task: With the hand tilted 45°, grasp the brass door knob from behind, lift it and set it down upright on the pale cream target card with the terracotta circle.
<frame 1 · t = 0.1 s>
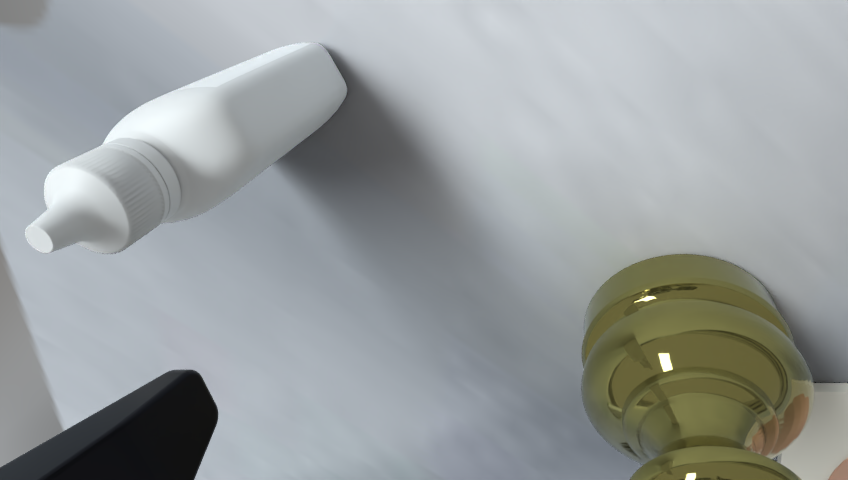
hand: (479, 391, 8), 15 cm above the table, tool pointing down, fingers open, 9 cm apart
brass door knob: (674, 323, 23), on the table
eye dropper bottle: (288, 94, 23), on the table
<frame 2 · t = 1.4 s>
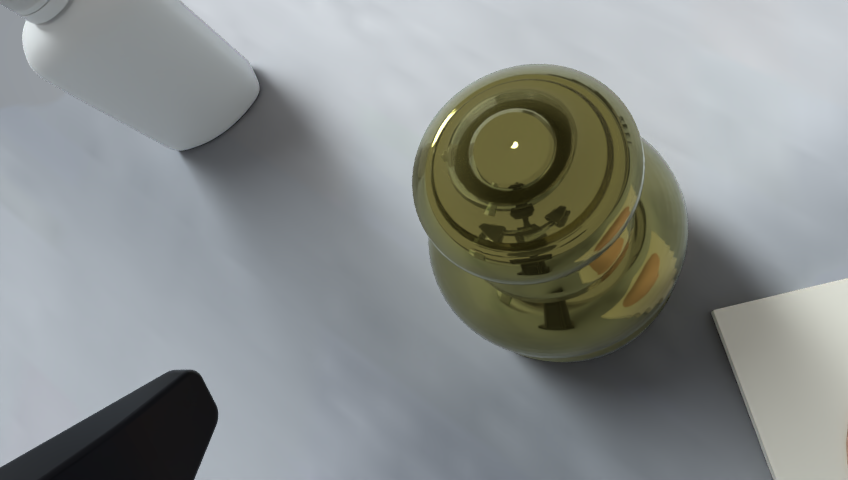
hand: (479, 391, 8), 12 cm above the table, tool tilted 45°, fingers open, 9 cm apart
brass door knob: (563, 260, 20), on the table
eye dropper bottle: (217, 110, 28), on the table
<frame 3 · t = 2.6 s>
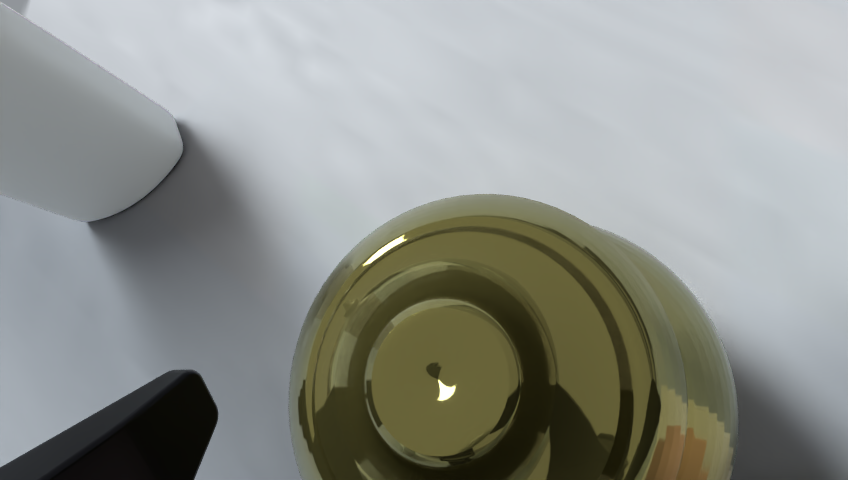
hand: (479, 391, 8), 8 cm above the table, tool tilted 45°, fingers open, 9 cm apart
brass door knob: (554, 399, 15), on the table
eye dropper bottle: (135, 172, 23), on the table
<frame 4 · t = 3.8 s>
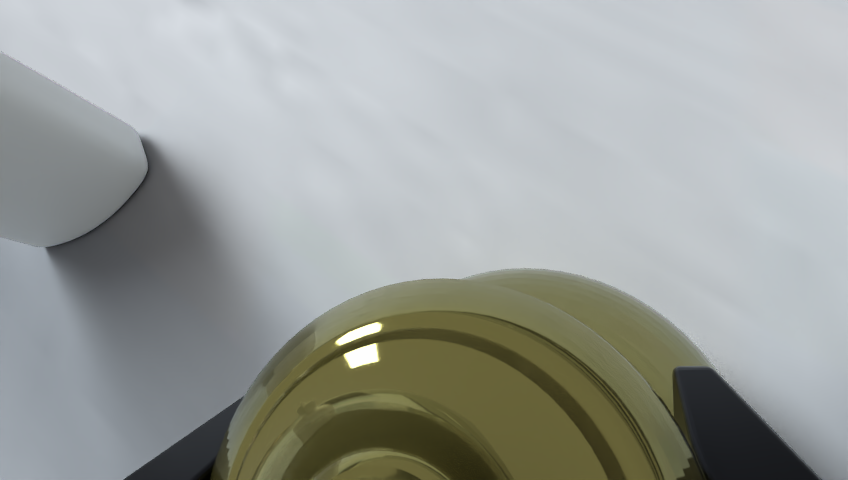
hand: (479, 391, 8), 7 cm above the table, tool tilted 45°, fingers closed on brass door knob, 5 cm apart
brass door knob: (550, 461, 13), on the table, touching gripper
eye dropper bottle: (97, 192, 21), on the table
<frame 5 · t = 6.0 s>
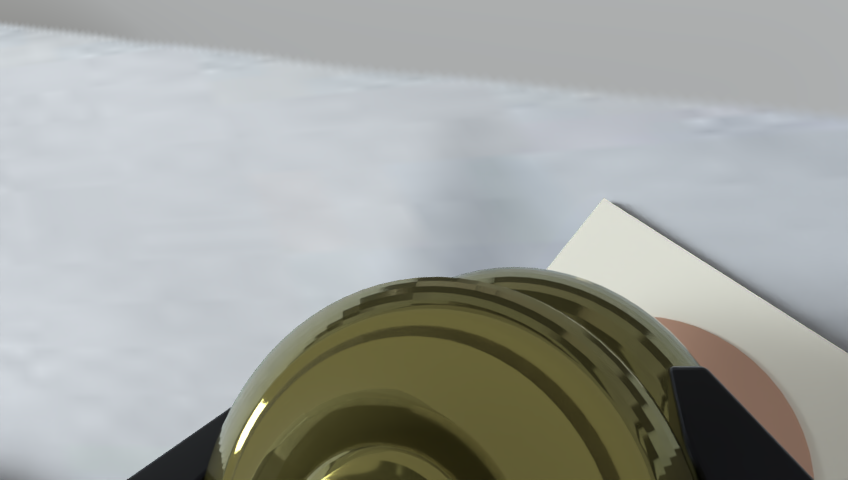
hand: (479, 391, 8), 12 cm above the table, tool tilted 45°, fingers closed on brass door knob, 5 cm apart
brass door knob: (537, 457, 13), point 5 cm above the table, touching gripper
target card: (645, 456, 17), on the table
when the fingers open (8 cm above the table, at t = 7.9 s): brass door knob stays where it is, resting on target card.
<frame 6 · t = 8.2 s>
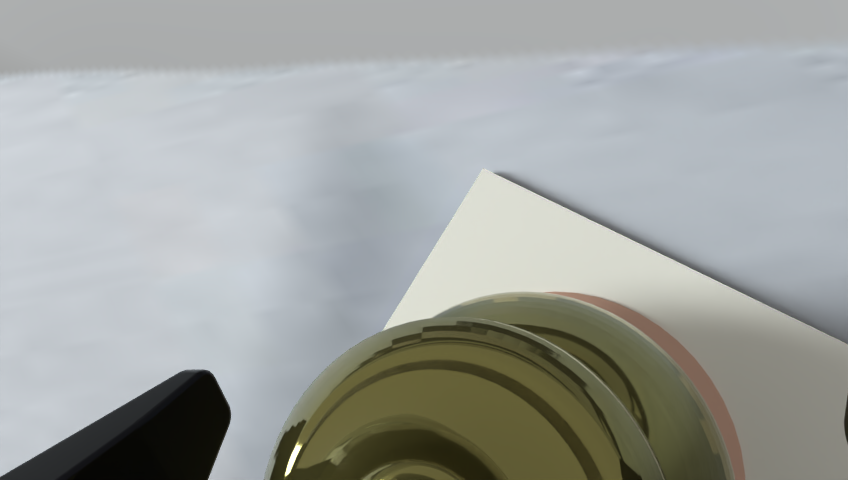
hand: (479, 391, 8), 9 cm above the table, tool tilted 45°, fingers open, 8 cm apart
brass door knob: (548, 463, 15), resting on target card
target card: (557, 455, 15), on the table
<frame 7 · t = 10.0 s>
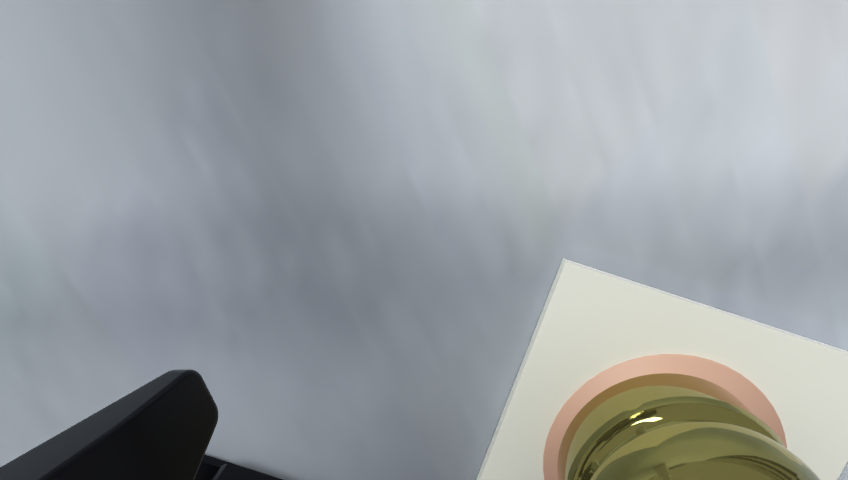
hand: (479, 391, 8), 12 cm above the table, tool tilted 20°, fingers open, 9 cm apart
brass door knob: (655, 458, 20), resting on target card
target card: (657, 455, 21), on the table
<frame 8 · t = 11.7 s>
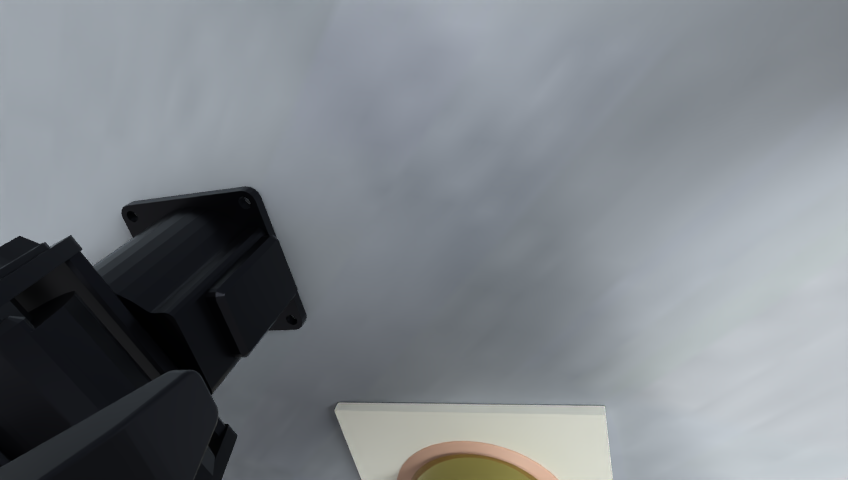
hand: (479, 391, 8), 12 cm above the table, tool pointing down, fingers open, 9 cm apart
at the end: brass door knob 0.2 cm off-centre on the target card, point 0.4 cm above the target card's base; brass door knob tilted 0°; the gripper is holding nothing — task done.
